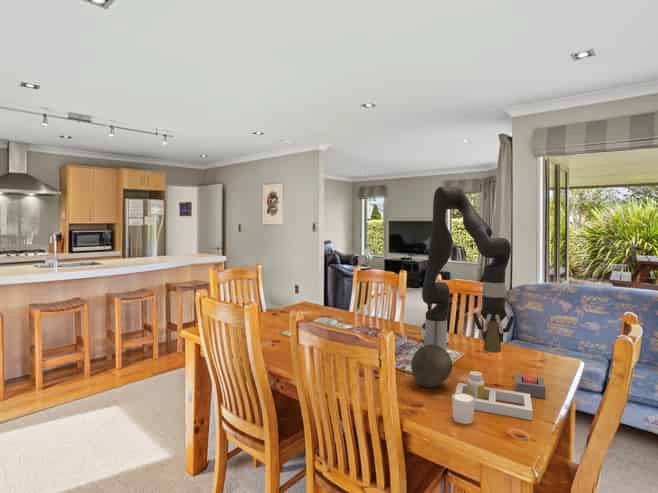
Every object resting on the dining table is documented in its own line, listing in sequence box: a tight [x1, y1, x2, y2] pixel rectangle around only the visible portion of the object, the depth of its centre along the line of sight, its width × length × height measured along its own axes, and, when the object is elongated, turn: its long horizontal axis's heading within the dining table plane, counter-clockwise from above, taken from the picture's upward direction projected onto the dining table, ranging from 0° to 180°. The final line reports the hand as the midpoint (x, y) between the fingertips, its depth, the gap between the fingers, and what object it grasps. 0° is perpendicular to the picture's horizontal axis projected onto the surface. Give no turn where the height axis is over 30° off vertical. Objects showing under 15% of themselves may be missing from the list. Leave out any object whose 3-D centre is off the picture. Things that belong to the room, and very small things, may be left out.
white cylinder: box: [451, 393, 475, 425], centre depth 122 cm, size 7×7×7 cm
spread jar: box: [420, 318, 450, 344], centre depth 196 cm, size 12×11×12 cm
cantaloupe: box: [410, 344, 453, 388], centre depth 146 cm, size 14×14×15 cm
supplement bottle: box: [466, 370, 485, 400], centre depth 134 cm, size 5×5×10 cm
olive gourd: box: [483, 320, 502, 354], centre depth 141 cm, size 6×6×11 cm
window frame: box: [454, 382, 534, 421], centre depth 132 cm, size 23×12×3 cm, turn 67°
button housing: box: [514, 373, 547, 400], centre depth 142 cm, size 9×9×4 cm
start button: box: [523, 375, 537, 384], centre depth 141 cm, size 4×4×3 cm
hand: (492, 342), depth 141 cm, fingers closed on olive gourd, 4 cm apart
